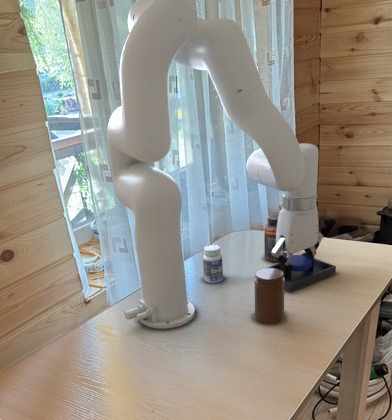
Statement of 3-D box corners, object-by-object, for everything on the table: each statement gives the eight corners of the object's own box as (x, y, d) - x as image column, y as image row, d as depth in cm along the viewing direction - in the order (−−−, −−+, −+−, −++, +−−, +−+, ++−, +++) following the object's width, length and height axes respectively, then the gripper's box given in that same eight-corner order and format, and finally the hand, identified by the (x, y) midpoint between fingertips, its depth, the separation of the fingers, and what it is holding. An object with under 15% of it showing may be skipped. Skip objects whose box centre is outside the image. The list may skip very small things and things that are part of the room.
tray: (290, 292, 120) (290, 284, 119) (258, 278, 128) (258, 270, 127) (335, 273, 127) (336, 266, 126) (302, 261, 135) (302, 253, 134)
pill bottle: (213, 285, 126) (211, 252, 122) (200, 279, 129) (198, 248, 125) (227, 278, 129) (225, 246, 124) (214, 273, 132) (212, 242, 127)
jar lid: (297, 258, 130) (297, 252, 129) (317, 266, 125) (318, 260, 124) (277, 265, 126) (277, 259, 126) (297, 274, 122) (297, 268, 121)
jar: (268, 327, 107) (268, 282, 102) (249, 316, 111) (248, 273, 106) (290, 317, 110) (291, 273, 104) (270, 307, 114) (270, 265, 109)
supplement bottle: (288, 261, 135) (289, 219, 129) (265, 263, 135) (265, 221, 129) (285, 253, 140) (286, 212, 134) (263, 254, 140) (263, 213, 134)
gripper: (314, 190, 124) (310, 260, 133) (259, 207, 116) (260, 279, 126) (338, 196, 119) (332, 268, 128) (282, 214, 111) (281, 289, 120)
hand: (296, 273), depth 127 cm, fingers closed on jar lid, 6 cm apart
